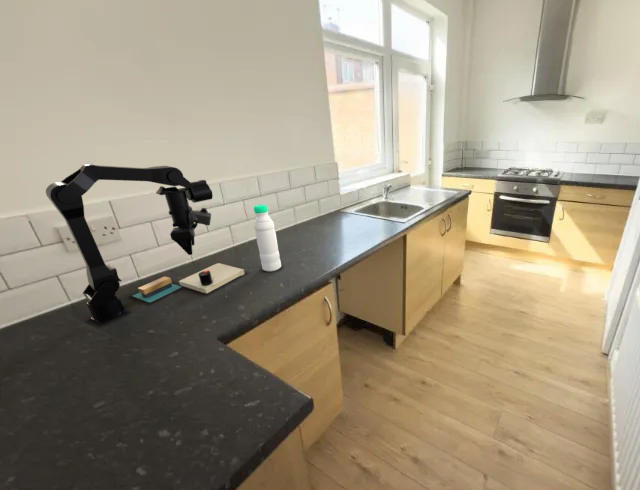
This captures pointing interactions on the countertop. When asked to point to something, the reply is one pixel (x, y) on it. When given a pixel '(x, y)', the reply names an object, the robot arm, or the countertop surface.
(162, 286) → the brush
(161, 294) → the dish cloth
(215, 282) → the cream rectangular board
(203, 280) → the knob
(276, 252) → the water bottle
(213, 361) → the countertop surface
